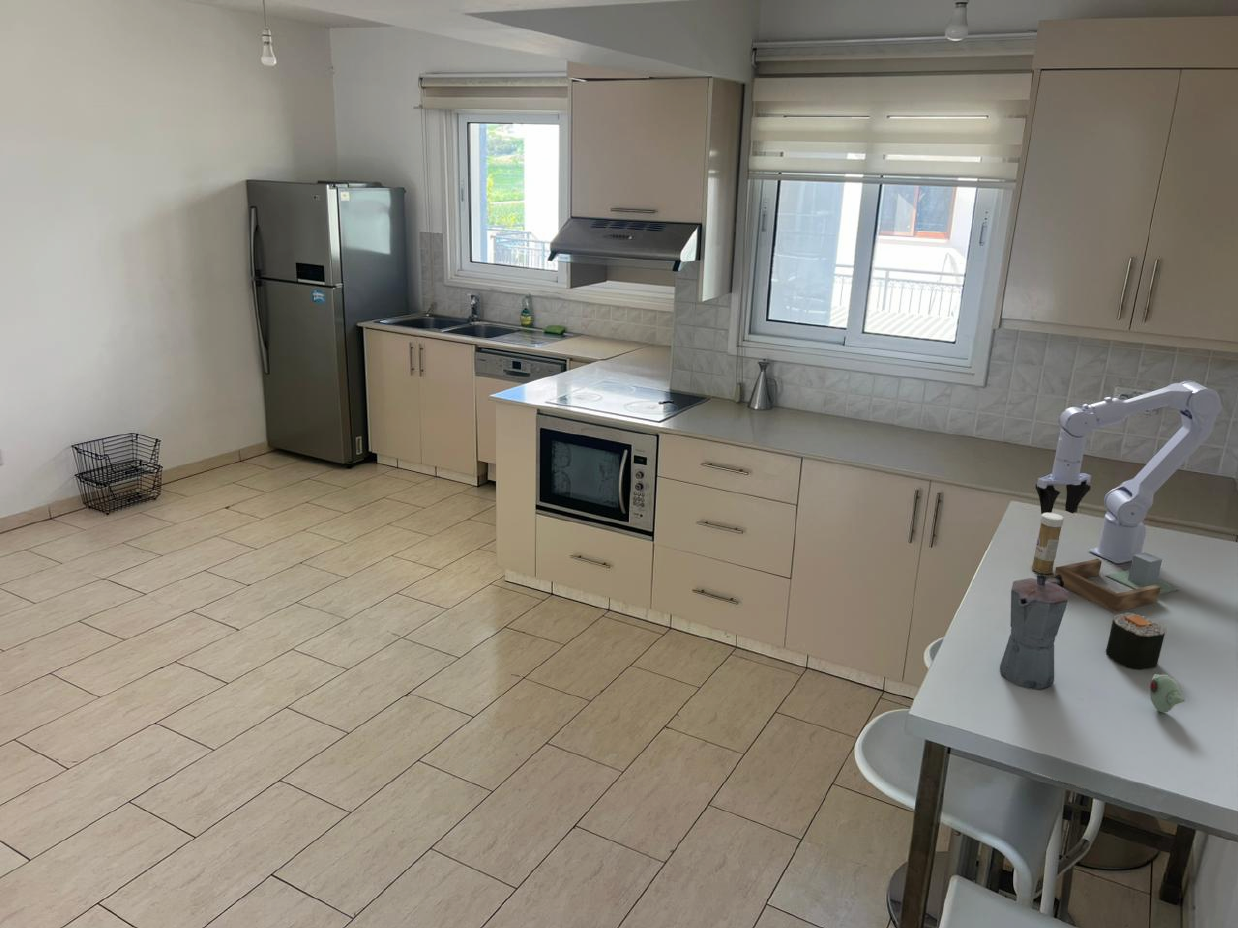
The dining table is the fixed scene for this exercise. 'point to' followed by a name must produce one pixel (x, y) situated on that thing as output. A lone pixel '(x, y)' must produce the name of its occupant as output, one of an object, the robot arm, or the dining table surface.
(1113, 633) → the sushi
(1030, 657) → the moka pot
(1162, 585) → the green mat
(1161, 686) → the pale green rounded piece
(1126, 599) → the walnut stall
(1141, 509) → the robot arm
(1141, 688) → the dining table surface
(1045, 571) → the sprinkles bottle
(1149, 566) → the slate block
